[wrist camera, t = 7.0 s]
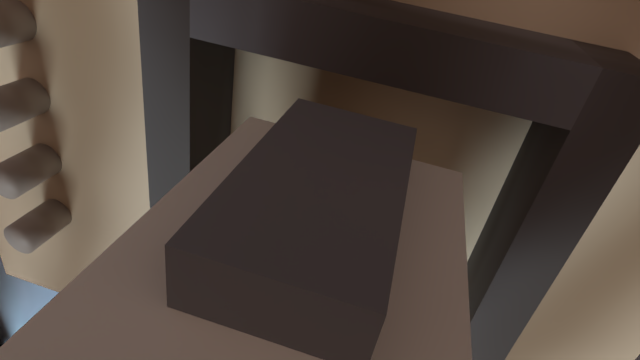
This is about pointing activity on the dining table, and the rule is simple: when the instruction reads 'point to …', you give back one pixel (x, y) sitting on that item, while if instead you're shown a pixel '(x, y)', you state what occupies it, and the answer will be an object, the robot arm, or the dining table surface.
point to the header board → (359, 97)
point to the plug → (279, 256)
